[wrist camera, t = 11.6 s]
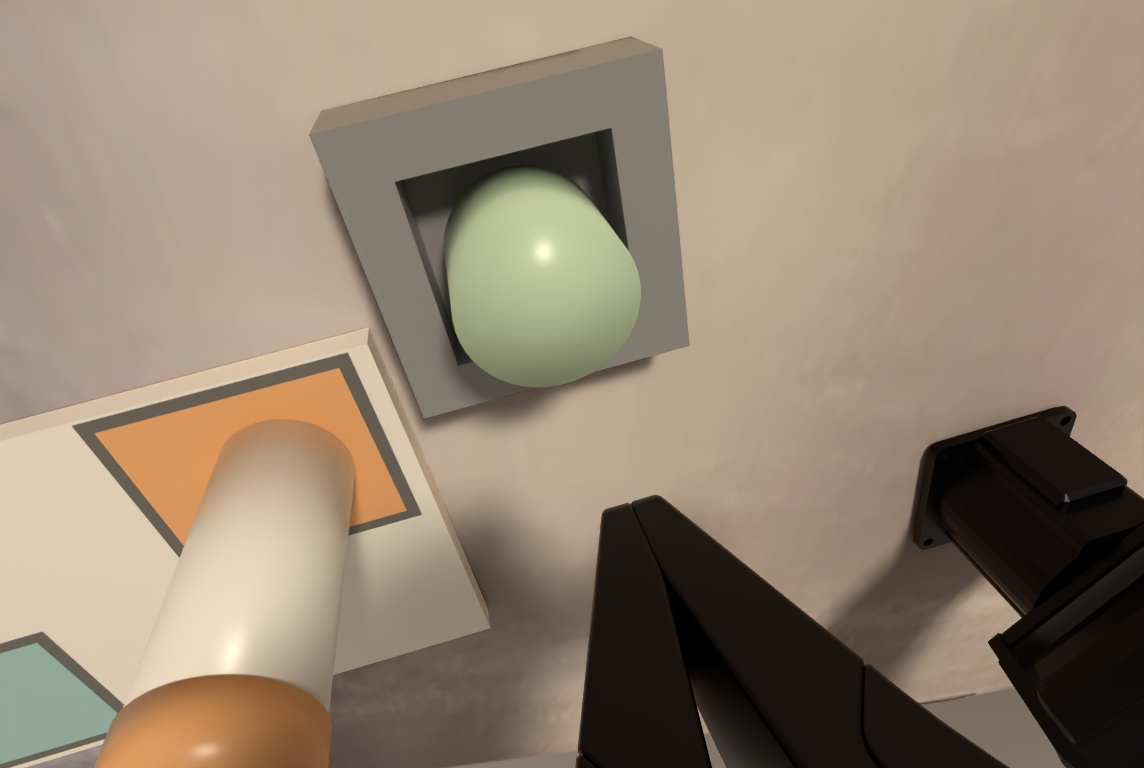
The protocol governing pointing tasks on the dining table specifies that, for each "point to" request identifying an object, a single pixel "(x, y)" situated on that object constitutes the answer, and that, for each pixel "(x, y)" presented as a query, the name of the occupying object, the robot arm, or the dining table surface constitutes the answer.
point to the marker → (248, 614)
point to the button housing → (489, 143)
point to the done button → (537, 278)
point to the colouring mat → (164, 518)
